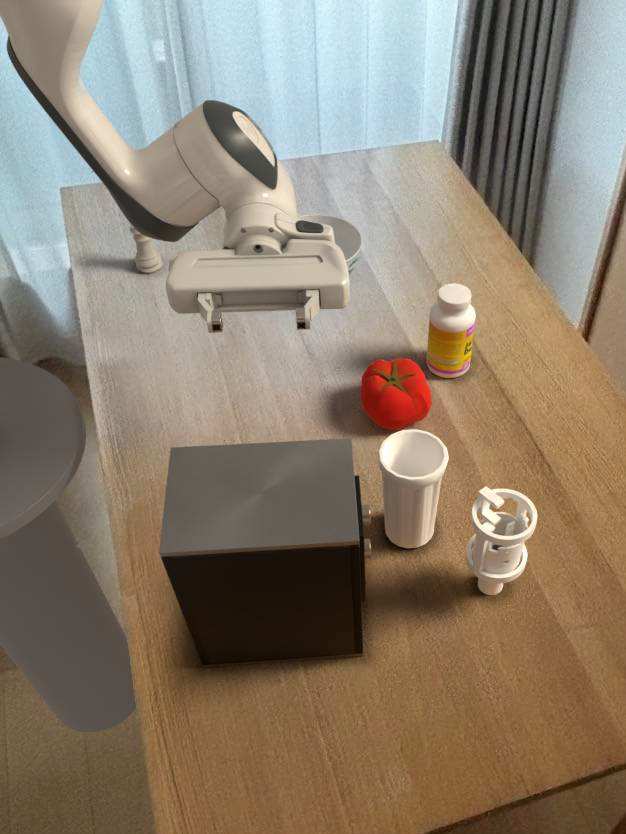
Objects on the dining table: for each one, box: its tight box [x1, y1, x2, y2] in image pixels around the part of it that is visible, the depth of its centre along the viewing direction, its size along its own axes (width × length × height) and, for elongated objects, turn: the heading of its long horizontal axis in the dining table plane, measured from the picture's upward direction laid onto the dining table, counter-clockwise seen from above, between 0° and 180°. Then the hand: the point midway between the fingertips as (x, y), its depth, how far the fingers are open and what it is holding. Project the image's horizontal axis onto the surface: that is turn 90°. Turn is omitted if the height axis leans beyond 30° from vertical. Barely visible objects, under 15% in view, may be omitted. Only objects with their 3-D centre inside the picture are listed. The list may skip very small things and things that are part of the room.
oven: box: [158, 437, 372, 669], centre depth 84 cm, size 20×13×22 cm, turn 96°
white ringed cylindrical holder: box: [464, 486, 538, 596], centre depth 90 cm, size 7×7×15 cm
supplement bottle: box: [426, 282, 477, 379], centre depth 115 cm, size 7×7×13 cm
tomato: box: [359, 358, 433, 430], centre depth 111 cm, size 10×11×6 cm
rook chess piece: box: [129, 224, 164, 274], centre depth 130 cm, size 4×4×8 cm
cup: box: [377, 428, 450, 549], centre depth 95 cm, size 8×8×14 cm
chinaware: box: [298, 213, 363, 276], centre depth 128 cm, size 15×15×8 cm
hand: (259, 326), depth 85 cm, fingers open, 8 cm apart
